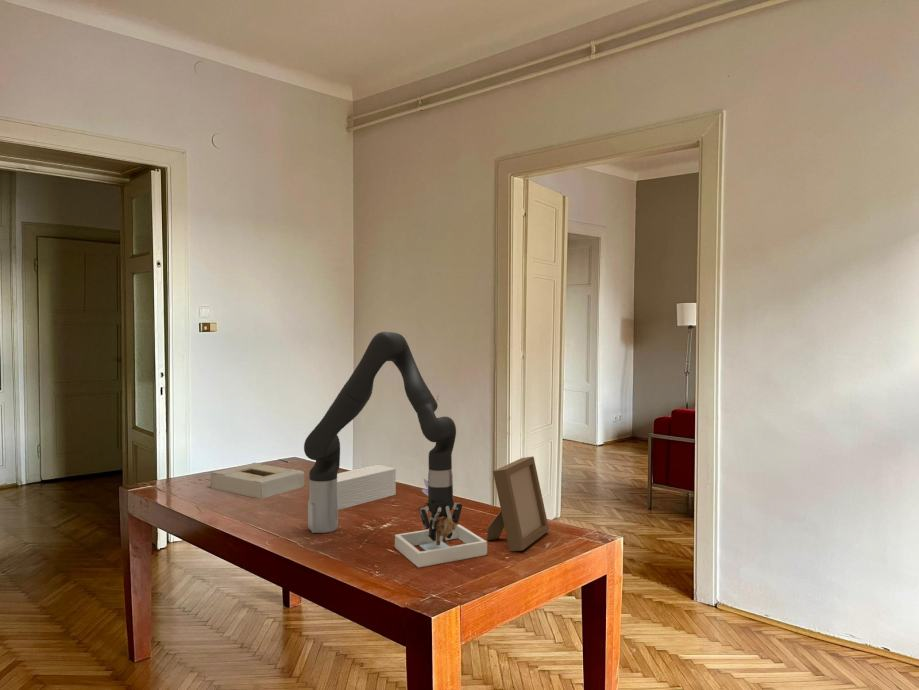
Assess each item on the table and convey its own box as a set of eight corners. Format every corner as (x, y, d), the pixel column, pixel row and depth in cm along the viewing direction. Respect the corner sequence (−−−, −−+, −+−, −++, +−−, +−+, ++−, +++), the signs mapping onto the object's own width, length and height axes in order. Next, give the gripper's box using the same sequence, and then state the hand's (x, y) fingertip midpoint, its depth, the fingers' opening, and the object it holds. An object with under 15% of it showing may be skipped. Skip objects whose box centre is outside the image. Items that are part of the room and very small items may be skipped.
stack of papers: (378, 490, 275) (378, 464, 275) (395, 495, 268) (395, 468, 267) (313, 507, 252) (313, 478, 251) (330, 512, 244) (330, 483, 244)
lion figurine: (457, 547, 200) (459, 518, 199) (443, 550, 197) (444, 521, 196) (432, 528, 212) (434, 501, 211) (417, 531, 209) (419, 504, 208)
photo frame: (549, 533, 220) (549, 458, 219) (522, 553, 201) (522, 471, 200) (508, 526, 227) (508, 453, 226) (478, 545, 208) (478, 466, 207)
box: (305, 487, 281) (254, 477, 298) (305, 469, 281) (253, 460, 298) (262, 501, 262) (209, 489, 279) (261, 482, 261) (209, 471, 278)
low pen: (418, 567, 190) (418, 553, 190) (394, 547, 206) (394, 534, 206) (487, 554, 200) (487, 541, 200) (459, 536, 216) (459, 524, 216)
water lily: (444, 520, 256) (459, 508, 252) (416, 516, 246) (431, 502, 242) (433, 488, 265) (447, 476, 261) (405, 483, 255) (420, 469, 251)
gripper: (423, 488, 195) (424, 546, 196) (467, 483, 202) (467, 538, 203) (413, 483, 202) (414, 539, 203) (455, 477, 209) (456, 532, 209)
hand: (441, 538), depth 203 cm, fingers closed on lion figurine, 4 cm apart
